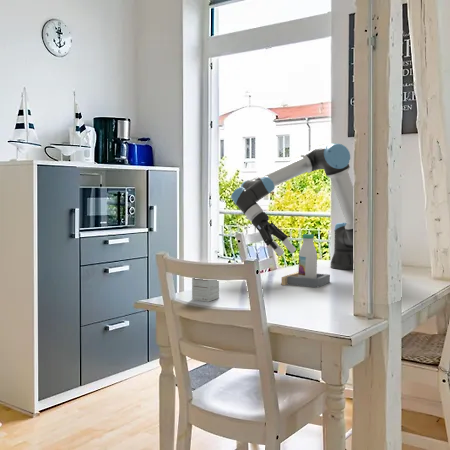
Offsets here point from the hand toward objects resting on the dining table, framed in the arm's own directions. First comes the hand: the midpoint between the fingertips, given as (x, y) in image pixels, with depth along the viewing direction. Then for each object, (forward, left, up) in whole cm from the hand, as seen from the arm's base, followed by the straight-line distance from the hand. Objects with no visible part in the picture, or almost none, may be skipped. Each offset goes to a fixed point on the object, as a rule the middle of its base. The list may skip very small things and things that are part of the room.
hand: (288, 252), depth 241 cm
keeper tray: (0, +9, -12) cm, 15 cm away
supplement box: (+52, -10, -13) cm, 54 cm away
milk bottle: (-1, +9, -12) cm, 15 cm away
